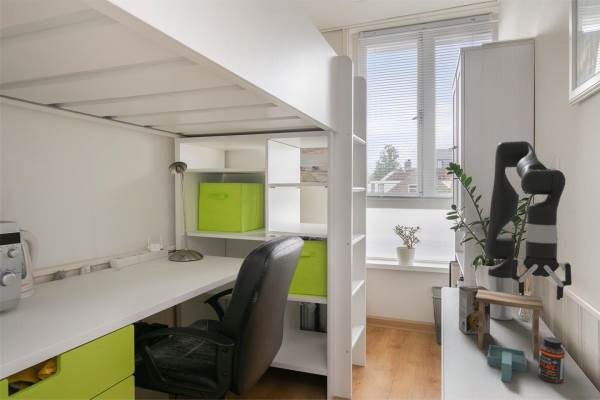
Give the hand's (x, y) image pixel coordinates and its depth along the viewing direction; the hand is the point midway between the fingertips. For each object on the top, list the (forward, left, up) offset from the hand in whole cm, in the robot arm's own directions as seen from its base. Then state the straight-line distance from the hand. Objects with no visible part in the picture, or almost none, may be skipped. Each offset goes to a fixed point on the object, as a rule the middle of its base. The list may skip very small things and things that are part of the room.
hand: (540, 297), depth 108 cm
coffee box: (-28, -19, -23) cm, 41 cm away
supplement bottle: (0, +3, -23) cm, 23 cm away
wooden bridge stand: (-17, -8, -23) cm, 29 cm away
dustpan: (-1, -8, -23) cm, 24 cm away
